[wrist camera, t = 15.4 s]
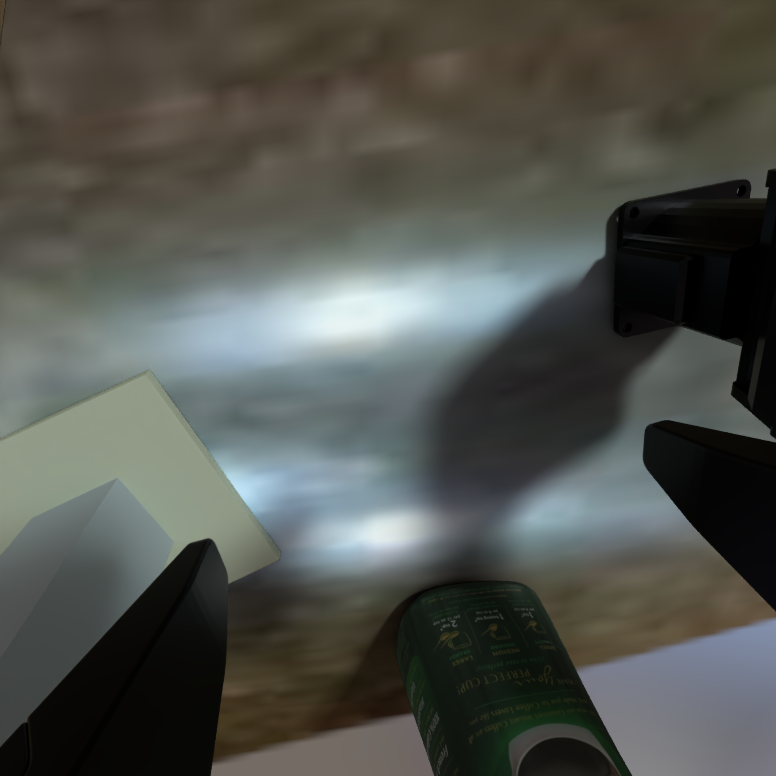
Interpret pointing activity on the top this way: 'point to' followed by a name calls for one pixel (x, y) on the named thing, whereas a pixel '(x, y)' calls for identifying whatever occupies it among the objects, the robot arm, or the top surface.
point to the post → (70, 589)
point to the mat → (131, 472)
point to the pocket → (1, 14)
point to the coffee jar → (498, 687)
